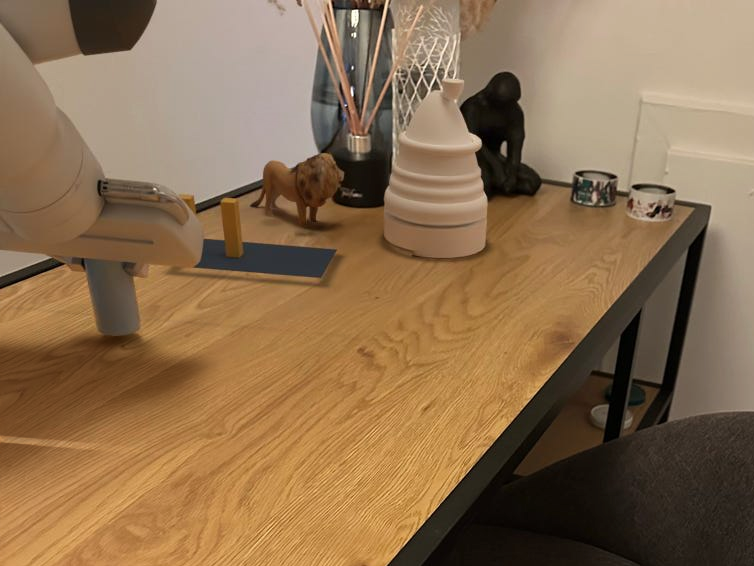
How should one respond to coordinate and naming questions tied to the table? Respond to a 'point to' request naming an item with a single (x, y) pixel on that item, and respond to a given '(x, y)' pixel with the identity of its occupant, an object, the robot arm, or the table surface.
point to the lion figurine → (301, 185)
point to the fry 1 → (189, 201)
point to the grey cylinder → (112, 297)
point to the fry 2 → (231, 227)
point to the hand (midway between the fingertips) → (111, 267)
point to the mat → (267, 259)
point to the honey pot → (437, 182)
